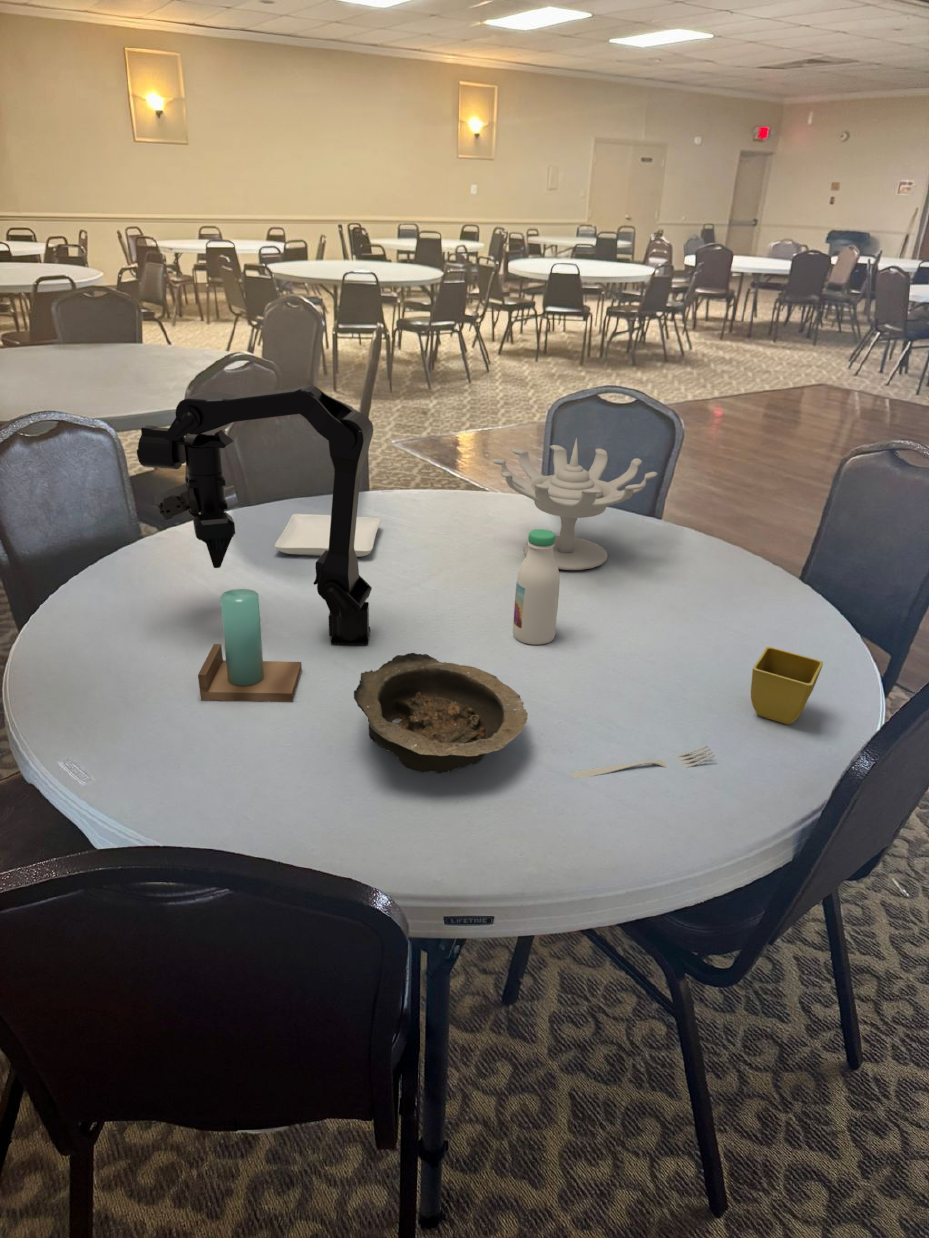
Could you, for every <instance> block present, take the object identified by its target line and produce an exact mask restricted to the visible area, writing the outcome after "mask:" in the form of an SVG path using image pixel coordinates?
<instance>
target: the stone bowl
mask: <svg viewBox="0 0 929 1238" xmlns="http://www.w3.org/2000/svg"><path fill="white" fill-rule="evenodd" d="M358 683H359V684H358V685H357V687H356V689H355V690H353V699H354V701H355V702H356V704H357V707H358V708H359V709H361V712H363V713H364V715H365V716H366V718H367V723H368V736H369V740H371V741H372V742H375V743H376V745H377V746H378V747H380V748H381V749H383V750H386V751H387V752H389V753H392V754H394V756H396V758H397V760H398V761H399V763H401V765H403V766H404V767H405V768H406V769H409V770H412V771H414V772H417V773H430V772H431V773H432V772H433V773H437V774H444V773H445V774H446V773H448V772H449V773H451V772H453V771H454V770H458V769H462V768H463V769H464V768H467V767H468V766H471V765H472V766H473V765H476V764H478V763H479V762H480V761H482V759H483V758H484V757H485V756H486V755H487V754H488V753H491V752H497V751H500V750H502V749H504V748H505V747H506V744H508V743H510V742H511V741H512V740H514V739H515V738H516V737H517V736H518V735H519V734H521V733H522V731H523V729H524V728H525V726H526V724H527V721H528V718H529V717H528V716H529V715H528V714H529V713H528V711H527V710H526V709H525V707H524V704H525V703H524V701H522V698H521V695H520V694H518V693H517V692H516V690H514V689H513V688H512V687H510V686H509V685H507V684H505V683H504V682H502V681H501V680H500V679H499V678H498V677H497V675H493V674H491V673H489V672H487V671H485V670H482V669H480V668H478V667H474V666H470V665H465V664H464V665H463V664H458V663H453V662H446V661H444V662H441V661H440V660H438V659H437V658H435V657H432V656H431V655H429V654H427V653H423V654H422V653H416V652H410V653H406V654H404V655H401V654H400V655H398V654H397V655H396V656H393V657H392V659H391V660H388V661H387V662H386V663H383V664H382V665H381V666H380V667H379V668H378V669H376V670H374V671H373V669H371V670H369V671H367V670H366V671H364V672H361V673H360V680H359V682H358ZM394 720H400V721H399V722H396V723H395V722H393V721H394Z"/></svg>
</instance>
